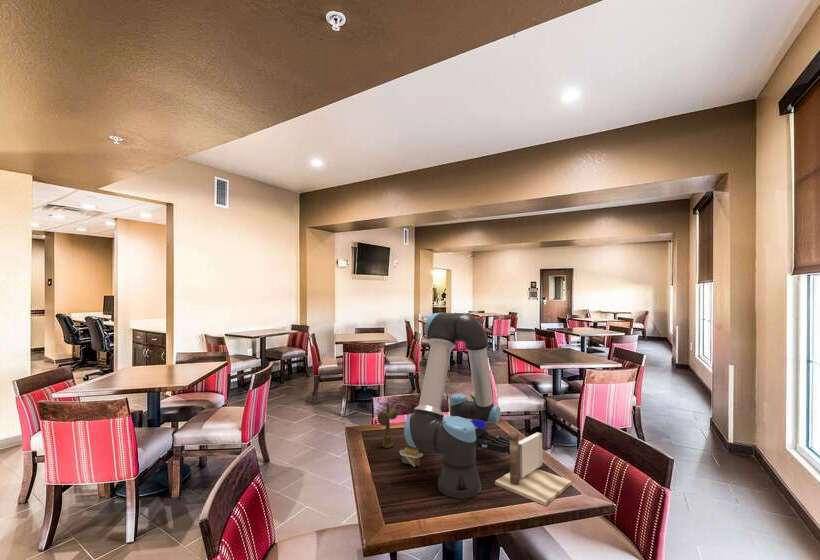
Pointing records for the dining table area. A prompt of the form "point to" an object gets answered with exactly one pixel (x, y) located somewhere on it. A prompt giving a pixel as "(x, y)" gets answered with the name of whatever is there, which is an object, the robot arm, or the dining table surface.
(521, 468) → the gate
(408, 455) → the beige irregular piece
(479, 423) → the hyacinth
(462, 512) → the dining table surface
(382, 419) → the kendama
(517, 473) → the gate frame
